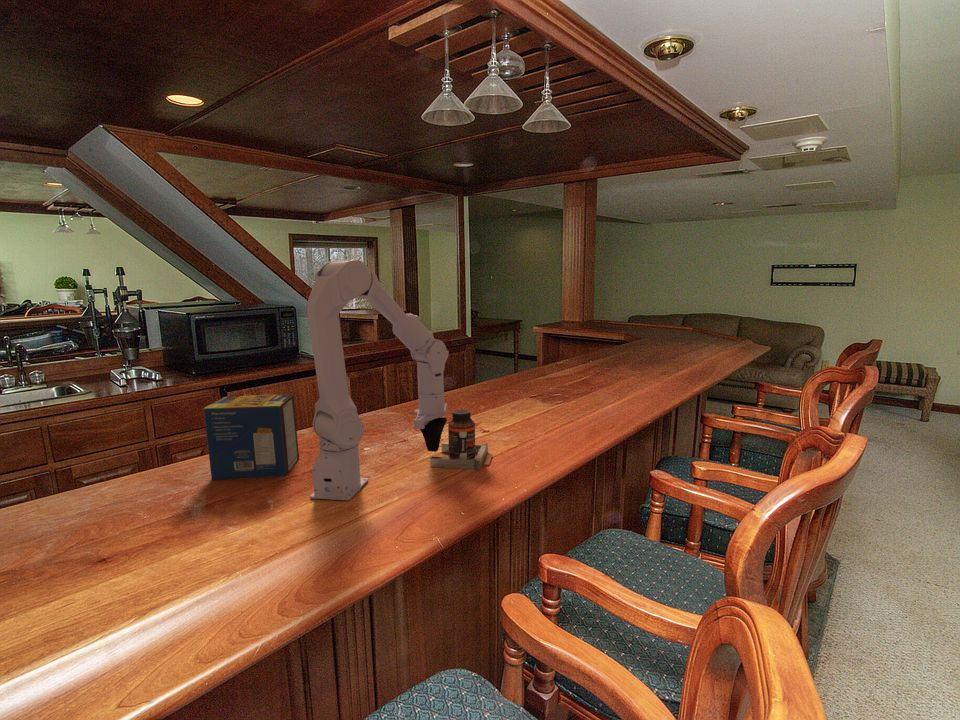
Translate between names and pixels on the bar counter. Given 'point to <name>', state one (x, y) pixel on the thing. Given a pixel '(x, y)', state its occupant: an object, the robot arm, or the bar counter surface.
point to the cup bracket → (463, 462)
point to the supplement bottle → (461, 435)
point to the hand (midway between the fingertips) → (433, 450)
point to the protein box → (251, 436)
